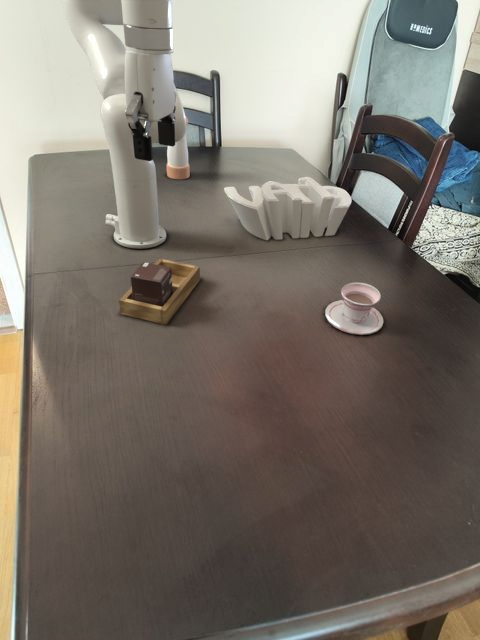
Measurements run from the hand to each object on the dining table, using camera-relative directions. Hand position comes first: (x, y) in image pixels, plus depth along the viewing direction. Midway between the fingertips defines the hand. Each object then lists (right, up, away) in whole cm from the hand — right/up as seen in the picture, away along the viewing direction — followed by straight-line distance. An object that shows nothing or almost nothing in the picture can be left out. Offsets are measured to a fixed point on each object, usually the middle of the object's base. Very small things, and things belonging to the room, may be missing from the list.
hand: (155, 152), depth 84 cm
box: (-2, -27, +7) cm, 28 cm away
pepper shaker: (-8, +21, +66) cm, 69 cm away
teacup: (+38, -30, +11) cm, 50 cm away
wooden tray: (-1, -25, +11) cm, 27 cm away
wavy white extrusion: (+27, -2, +43) cm, 50 cm away
